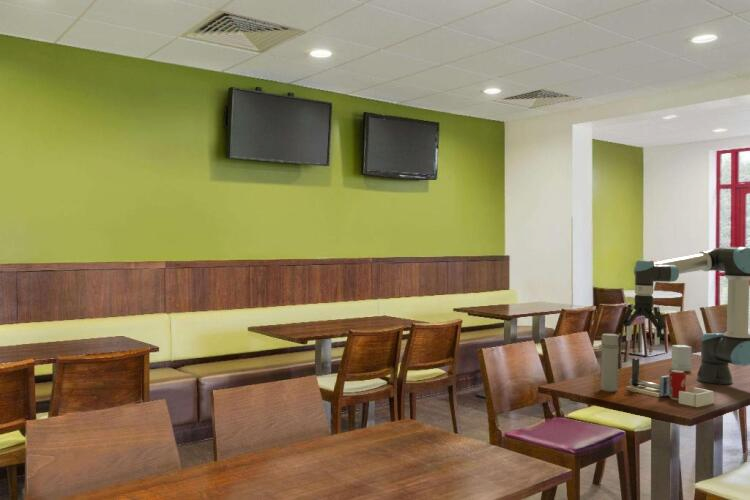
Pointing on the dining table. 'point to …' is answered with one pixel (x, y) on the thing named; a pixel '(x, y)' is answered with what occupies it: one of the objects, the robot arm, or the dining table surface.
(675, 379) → the beverage can
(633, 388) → the panel
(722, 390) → the dining table surface
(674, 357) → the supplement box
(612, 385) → the water bottle
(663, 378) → the metal lever handle
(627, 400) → the dining table surface
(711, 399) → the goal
